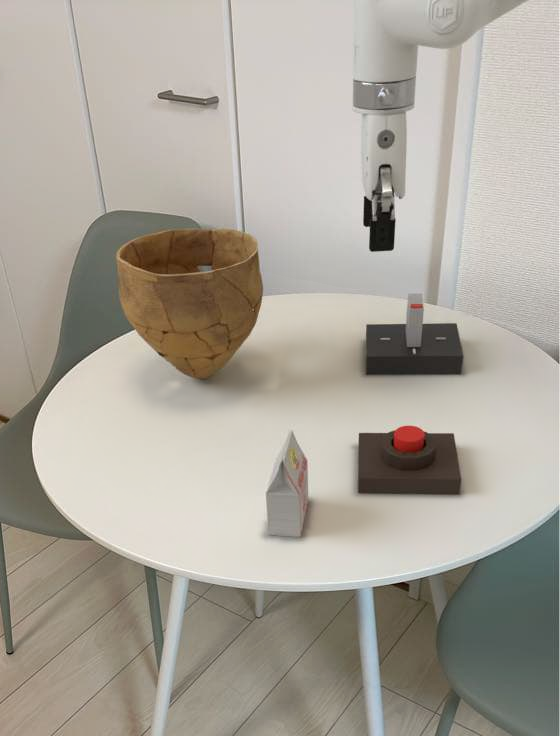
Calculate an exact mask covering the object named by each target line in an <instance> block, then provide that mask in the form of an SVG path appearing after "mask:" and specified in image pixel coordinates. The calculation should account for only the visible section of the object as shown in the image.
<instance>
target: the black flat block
mask: <svg viewBox="0 0 560 736" xmlns="http://www.w3.org/2000/svg"><path fill="white" fill-rule="evenodd" d="M463 362H464V351H463V347H462V343H461V338H460V332H459V328H458V324H457V322H454V323H453V322H450V323H449V322H447V323H444V322H443V323H441V322H439V323H423V324H422V336H421V347H407V341H406V323H367V324H366V325H365V375H366V376H367V375H368V376H369V375H371V376H372V375H373V376H374V375H377V376H378V375H379V376H380V375H386V376H387V375H388V376H389V375H395V376H396V375H462V371H463V364H464V363H463Z"/></svg>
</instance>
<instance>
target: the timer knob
mask: <svg viewBox="0 0 560 736" xmlns="http://www.w3.org/2000/svg"><path fill="white" fill-rule="evenodd" d="M406 305H407V306H406V318H405V324H406V341H407V347H421V336H422V324H424V323H423V322H424V311H425V306H424V300H423V294H422V293H408V294H407V304H406Z"/></svg>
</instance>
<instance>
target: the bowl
mask: <svg viewBox="0 0 560 736" xmlns="http://www.w3.org/2000/svg"><path fill="white" fill-rule="evenodd" d="M258 242H259V241H258V240H257V238H256V237H255V236H254V235H253V234H251V233H249V232H246V231H241V230H236V229H231V228H178V229H177V228H174V229H168V230H163V231H158V232H155V233H150V234H147V235H142V236H139V237H136V238H134V239H131V240H130V241H127V242H125V243H124V244H122V245H121V246H120V248H119V249H117V251H116V253H115V260H116V264H117V274H118V294H119V295H118V296H119V302H120V304H121V307H122V310H123V313H124V315H125V317H126V319H127V320H128V322H129V323H130V324H131V326H132V328H133V329H134V330H135V331H136V333H137V334H138V336H139V337H140V338H141V339H142V340H143V341H144V342H145V343H146V344H147V345H148V346H149V347H150V348H151V349H153V350H154V351H155V352H156V353H157V355H159V356H160V357H161V358H163V359H164V361H166V362H168V364H169V363H170V364H171V365H172V366H173V367H174V368H175V370H177V371H178V372H180V373H182V374H183V375H185V376H188V377H190V378H193V379H197V380H203V379H204V380H205V379H209V378H210V377H213V376H214V375H215V374H217V373H218V372H219V371H220V370H222V368H224V367H225V366H226V365H227V364H228V362H230V360H231V359H232V358H233V357H234V356H235V354H236V352H237V351H238V350H239V349H240V348H241V346H242V345H243V344H244V343H245V341H246V340H247V339H248V338H249V337H250V336H251V333H252V331H253V330H254V328H255V326H256V324H257V321H258V317H259V313H260V310H261V307H262V302H263V295H264V285H263V277H262V273H261V270H260V257H259V247H258V246H259V243H258ZM199 267H211V269H210V270H207V271H206V270H205V271H201V269H199Z"/></svg>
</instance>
